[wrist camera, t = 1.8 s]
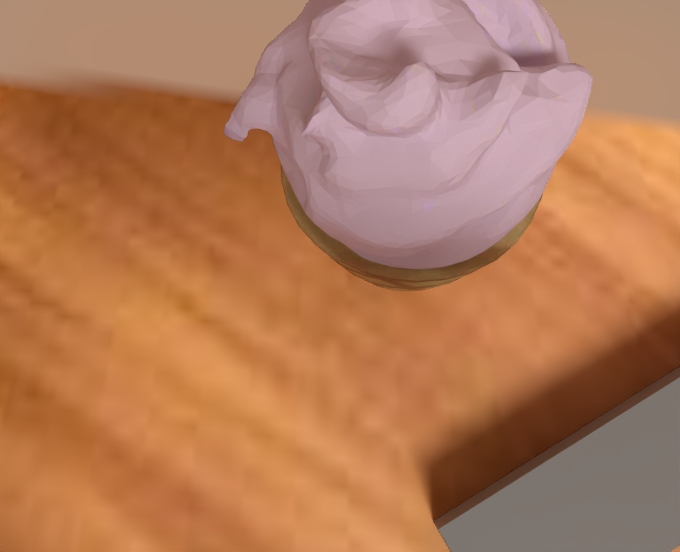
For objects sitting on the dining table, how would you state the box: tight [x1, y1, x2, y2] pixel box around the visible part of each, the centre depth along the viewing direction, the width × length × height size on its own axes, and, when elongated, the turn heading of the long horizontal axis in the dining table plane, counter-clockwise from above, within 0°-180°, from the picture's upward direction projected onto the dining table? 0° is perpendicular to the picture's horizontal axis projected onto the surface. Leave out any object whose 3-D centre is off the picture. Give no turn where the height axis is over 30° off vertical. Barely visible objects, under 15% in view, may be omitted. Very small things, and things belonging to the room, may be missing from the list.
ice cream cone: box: [224, 0, 593, 291], centre depth 16 cm, size 7×6×15 cm
